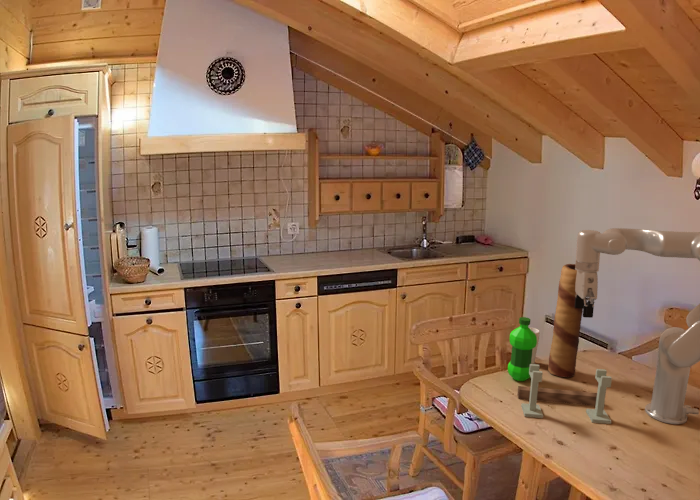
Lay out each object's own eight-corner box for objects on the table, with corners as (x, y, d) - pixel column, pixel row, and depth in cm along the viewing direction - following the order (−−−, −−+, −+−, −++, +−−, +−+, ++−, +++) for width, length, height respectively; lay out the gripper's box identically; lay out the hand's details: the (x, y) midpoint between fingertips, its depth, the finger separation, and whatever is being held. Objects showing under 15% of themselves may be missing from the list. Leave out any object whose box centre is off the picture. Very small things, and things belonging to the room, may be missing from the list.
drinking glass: (537, 367, 216) (540, 333, 213) (520, 365, 218) (523, 332, 214) (535, 360, 223) (538, 327, 220) (518, 359, 224) (521, 326, 221)
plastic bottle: (537, 384, 202) (543, 323, 196) (510, 384, 202) (515, 323, 196) (528, 372, 212) (533, 314, 206) (502, 372, 211) (507, 314, 206)
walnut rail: (597, 403, 189) (598, 393, 188) (599, 407, 186) (600, 397, 185) (517, 395, 193) (518, 385, 193) (518, 399, 191) (519, 389, 190)
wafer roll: (577, 371, 213) (590, 265, 204) (573, 381, 205) (585, 271, 195) (551, 365, 219) (562, 261, 209) (545, 374, 210) (556, 267, 200)
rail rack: (604, 413, 181) (609, 369, 178) (610, 424, 175) (617, 378, 171) (521, 406, 185) (525, 363, 182) (524, 416, 179) (528, 372, 175)
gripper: (607, 272, 172) (602, 321, 175) (590, 260, 189) (586, 305, 192) (583, 271, 173) (579, 320, 176) (568, 260, 190) (565, 304, 193)
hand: (583, 312), depth 184 cm, fingers open, 9 cm apart
